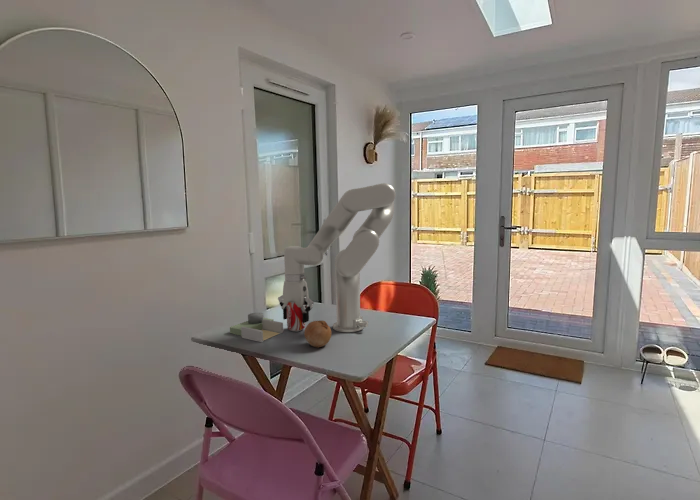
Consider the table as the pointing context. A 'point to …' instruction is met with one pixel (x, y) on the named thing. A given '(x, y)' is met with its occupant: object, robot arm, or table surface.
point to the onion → (317, 333)
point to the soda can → (294, 317)
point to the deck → (257, 328)
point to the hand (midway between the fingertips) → (296, 320)
